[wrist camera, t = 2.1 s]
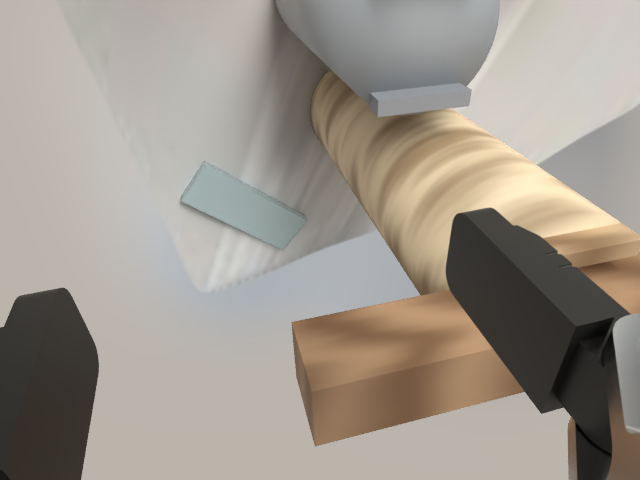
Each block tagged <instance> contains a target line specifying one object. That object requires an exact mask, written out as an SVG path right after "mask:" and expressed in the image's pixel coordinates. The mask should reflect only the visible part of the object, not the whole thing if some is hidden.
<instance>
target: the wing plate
mask: <svg viewBox="0 0 640 480" xmlns="http://www.w3.org/2000/svg"><path fill="white" fill-rule="evenodd" d="M181 202H183V203H185V204H187V205H190V206H192V207H194V208H196V209H198V210H200V211H202V212H204V213H206V214H208V215H210V216H213V217H215V218H217V219H219V220H221V221H223V222H225V223H227V224H229V225H231V226H233V227H235V228H238V229H240V230H242V231H244V232H246V233H248V234H250V235H252V236H254V237H256V238H258V239H261V240H263V241H265V242H267V243H269V244H271V245H273V246H275V247H277V248H279V249H281V250H284V249H285V247H286V246H287V245H288V244H289V242H290V241H291V240H292V238H293V237H294V236H295V235H296V233H297V232H298V231H299V230H300V228H301V227H302V226H303V225H304V223H305V222H306V218H305V216H304V215H302V214H300V213H299V212H297V211H295V210H293V209H291V208H289V207H287V206H286V205H284V204H282V203H280V202H278V201H276V200H275V199H273V198H271V197H269V196H267V195H265V194H264V193H262V192H260V191H258V190H256V189H254V188H253V187H251V186H249V185H247V184H245V183H243V182H242V181H240V180H238V179H236V178H234V177H232V176H231V175H229V174H227V173H225V172H223V171H221V170H219V169H218V168H216V167H214V166H212V165H210V164H208V163H207V162H205V161H204V163H203V164H202V166H201V167H200V169H199V170H198V172H197V173H196V175H195V176H194V178H193V179H192V181H191V182H190V184H189V185H188V187H187V188H186V190H185V191H184V193H183V194H182V196H181Z"/></svg>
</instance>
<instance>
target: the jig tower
mask: <svg viewBox="0 0 640 480" xmlns="http://www.w3.org/2000/svg"><path fill="white" fill-rule="evenodd" d="M310 119H311V124H312V127H313V130H314V132H315V134H316V136H317V138H318V139H319V141H320V142H321V144H322V145H323V147H324V148H325V150H326V151H327V153H328V154H329V156H330V157H331V159H332V160H333V162H334V164H335V165H336V167H337V168H338V170H339V171H340V173H341V174H342V176H343V177H344V179H345V180H346V182H347V183H348V185H349V186H350V188H351V190H352V191H353V193H354V194H355V196H356V197H357V199H358V200H359V202H360V203H361V205H362V206H363V208H364V209H365V211H366V212H367V214H368V216H369V217H370V219H371V220H372V222H373V223H374V225H375V226H376V228H377V229H378V231H379V232H380V234H381V235H382V237H383V238H384V240H385V241H386V243H387V245H388V246H389V247H390V249H391V251H392V252H393V254H394V255H395V257H396V258H397V260H398V261H399V263H400V264H401V266H402V267H403V269H404V271H405V272H406V273H407V275H408V277H409V278H410V280H411V281H412V283H413V284H414V286H415V287H416V289H417V290H418V292H419V293H420V295H421V296H422V295H427V294H431V293H436V292H441V291H446V290H450V289H449V286H448V283H447V279H446V262H447V255H448V248H449V242H450V235H451V228H452V222H453V219H454V217H455V215H456V214H458V213H462V212H468V211H473V210H478V209H483V208H489V207H490V208H493V209H495V210H496V211H498V212H499V213H500V214H501V215H502V216H503V217H504V218H505V219H507V220H508V221H509V222H510V223H511V224H512V225H513V226H514V225H518V226H520V227H522V228H525V229H527V230H529V231H531V232H533V233H535V234H537V235H539V236H541V237H542V238H543V239H544V240H545V241H547V242H548V243H549V244H550V245H551V246H552V247H554V248H555V249H556V250H557V251H558V254H562V255H563V256H564V257H565V258H566V259H568V260H569V261H570V262H571V263H572V266H573V267H577V268H579V267H584V266H588V265H593V264H598V263H603V262H608V261H612V260H617V259H622V258H627V257H632V256H636V255H638V252H639V250H640V236H639V235H638V234H636V233H635V232H634V231H632V230H631V229H629V228H628V227H626V226H625V225H623V224H622V223H620V222H619V221H618V220H616V219H614V218H613V217H612V216H610V215H609V214H607V213H606V212H604V211H603V210H601V209H600V208H598V207H597V206H595V205H594V204H593V203H591V202H590V201H588V200H586V199H585V198H584V197H582V196H581V195H579V194H578V193H576V192H575V191H573V190H572V189H570V188H569V187H568V186H566V185H564V184H563V183H562V182H560V181H559V180H557V179H556V178H554V177H553V176H551V175H550V174H548V173H547V172H545V171H544V170H543V169H541V168H540V167H538V166H537V165H535V164H534V163H532V162H531V161H529V160H528V159H526V158H525V157H523V156H522V155H520V154H519V153H518V152H516V151H515V150H513V149H512V148H510V147H509V146H507V145H506V144H504V143H503V142H501V141H500V140H498V139H497V138H495V137H494V136H493V135H491V134H490V133H488V132H487V131H485V130H484V129H482V128H481V127H479V126H478V125H476V124H475V123H473V122H472V121H470V120H469V119H467V118H466V117H465V116H463V115H462V114H460V113H459V112H457V111H456V110H454V109H453V108H449V109H440V110H432V111H428V112H425V113H421V114H416V115H406V116H402V115H392V116H384V117H377V116H376V115H375V114H374V113H373V112H372V111H371V110H370V109H369V104H367V103H366V102H365V101H364V100H362V99H361V98H360V97H359V96H358V95H357V94H356V93H355V92H354V91H353V90H352V89H351V88H350V87H349V86H348V85H347V84H346V83H345V82H344V81H343V80H341V79H340V78H339V77H338V76H337V75H336V74H335V73H334V72H333V71H332V70H331V69H330V70H329V71H328V72H327V73H326V74H325V75H324V76H323V78H322V79H321V80H320V82H319V83H318V85H317V87H316V89H315V91H314V93H313V96H312V100H311V106H310Z"/></svg>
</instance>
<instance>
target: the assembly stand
mask: <svg viewBox="0 0 640 480" xmlns="http://www.w3.org/2000/svg"><path fill="white" fill-rule="evenodd" d="M275 2H276V6H277V9H278V12H279V14H280V16H281V18H282V20H283V22H284V23H285V25H286V26H287V27H288V28H289V29H290V30H291V32H292V33H294V34H295V35H296V36H297V37H298V38H299V39H300V40H301V41H302V42H303V43H304V44H305V45H306V46H307V47H308V48H309V49H310V50H311V51H312V52H313V53H314V54H315V55H316V56H317V57H319V58H320V59H321V60H322V61H323V62H324V63H325V64H326V65H327V66H328V67H329V68H330V69H331V70H332V71H333V72H334V73H335V74H336V75H337V76H338V77H339V78H340V79H341V80H343V81H344V82H345V83H346V84H347V85H348V86H349V87H350V88H351V89H352V90H353V91H354V92H355V93H356V94H357V95H358V96H359V97H360V98H361V99H362V100H364V101H365V102H366V103H367V104H369V109H370V110H371V111H372V112H373V113H374V114H375V115H376V116H377V117H384V116H392V115H402V116H406V115H416V114H421V113H425V112H428V111H432V110H440V109H449V108H457V107H465V106H469V102H470V96H471V89H469V88H468V87H466V86H467V85H468V84H469V83H470V82H471V80H472V79H473V78H474V77H475V75H476V74H477V73H478V71H479V70H480V68H481V67H482V65H483V63H484V61H485V60H486V58H487V55H488V53H489V51H490V49H491V46H492V43H493V40H494V38H495V34H496V30H497V25H498V18H499V0H275Z"/></svg>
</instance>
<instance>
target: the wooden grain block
mask: <svg viewBox="0 0 640 480" xmlns="http://www.w3.org/2000/svg"><path fill="white" fill-rule="evenodd" d="M578 269H579V270H580V271H581V272H583V273H584V274H585V275H586V276H587V277H588V278H590V279H591V280H592V281H593V282H594V283H595V284H597V285H598V286H599V287H600V288H601V289H602V290H604V291H605V292H606V293H607V294H608V295H609V296H611V297H612V298H613V299H614V300H615V301H616V302H617V303H619V304H620V305H621V306H622V307H623V308H624V309H626V310H627V311H628V312H629V313H630V314H640V251H639V252H638V255H636V256H632V257H627V258H622V259H617V260H612V261H608V262H603V263H598V264H593V265H588V266H584V267H579V268H578ZM292 331H293V343H294V354H295V364H296V376H297V380H298V384H299V388H300V391H301V395H302V399H303V403H304V407H305V410H306V414H307V418H308V422H309V425H310V429H311V433H312V437H313V440H314V444H315V446H318V445H322V444H326V443H330V442H334V441H338V440H341V439H345V438H349V437H353V436H357V435H361V434H364V433H368V432H372V431H376V430H380V429H384V428H387V427H391V426H395V425H399V424H403V423H407V422H410V421H414V420H418V419H422V418H426V417H430V416H433V415H437V414H441V413H445V412H449V411H453V410H457V409H460V408H464V407H468V406H471V405H475V404H480V403H483V402H487V401H491V400H495V399H498V398H503V397H506V396H510V395H514V394H518V393H521V392H525V391H524V390H523V388H522V387H521V386H520V384H519V383H518V382H517V380H516V379H515V378H514V376H513V375H512V374H511V372H510V371H509V370H508V368H507V367H506V366H505V364H504V363H503V362H502V360H501V359H500V358H499V356H498V355H497V354H496V352H495V351H494V350H493V348H492V347H491V346H490V344H489V343H488V342H487V340H486V339H485V338H484V336H483V335H482V333H481V332H480V331H479V329H478V328H477V327H476V325H475V324H474V323H473V321H472V320H471V319H470V317H469V316H468V315H467V313H466V312H465V311H464V309H463V308H462V307H461V305H460V304H459V303H458V301H457V300H456V299H455V297H454V296H453V294H452V293H451V291H450V290H446V291H441V292H436V293H431V294H427V295H422V296H417V297H412V298H407V299H402V300H398V301H393V302H388V303H383V304H378V305H373V306H368V307H363V308H358V309H354V310H349V311H344V312H339V313H334V314H330V315H324V316H320V317H315V318H310V319H305V320H300V321H296V322H292Z"/></svg>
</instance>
